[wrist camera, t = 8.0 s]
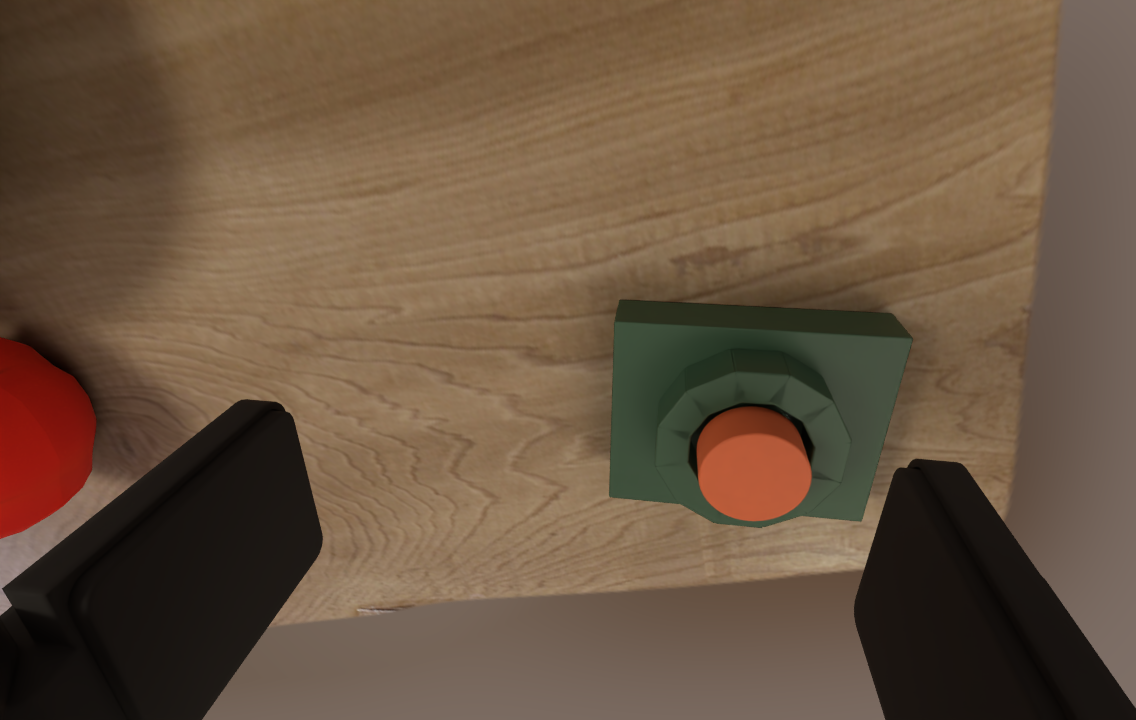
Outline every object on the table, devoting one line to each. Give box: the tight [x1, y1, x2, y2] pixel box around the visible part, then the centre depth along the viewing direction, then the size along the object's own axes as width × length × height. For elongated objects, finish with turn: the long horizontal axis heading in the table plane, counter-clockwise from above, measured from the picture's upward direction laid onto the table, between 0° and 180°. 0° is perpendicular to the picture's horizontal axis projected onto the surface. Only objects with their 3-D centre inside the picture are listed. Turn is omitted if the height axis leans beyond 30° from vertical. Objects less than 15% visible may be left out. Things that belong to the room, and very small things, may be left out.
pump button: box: [697, 406, 812, 521], centre depth 20 cm, size 4×4×2 cm
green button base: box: [609, 300, 913, 528], centre depth 23 cm, size 10×8×4 cm
